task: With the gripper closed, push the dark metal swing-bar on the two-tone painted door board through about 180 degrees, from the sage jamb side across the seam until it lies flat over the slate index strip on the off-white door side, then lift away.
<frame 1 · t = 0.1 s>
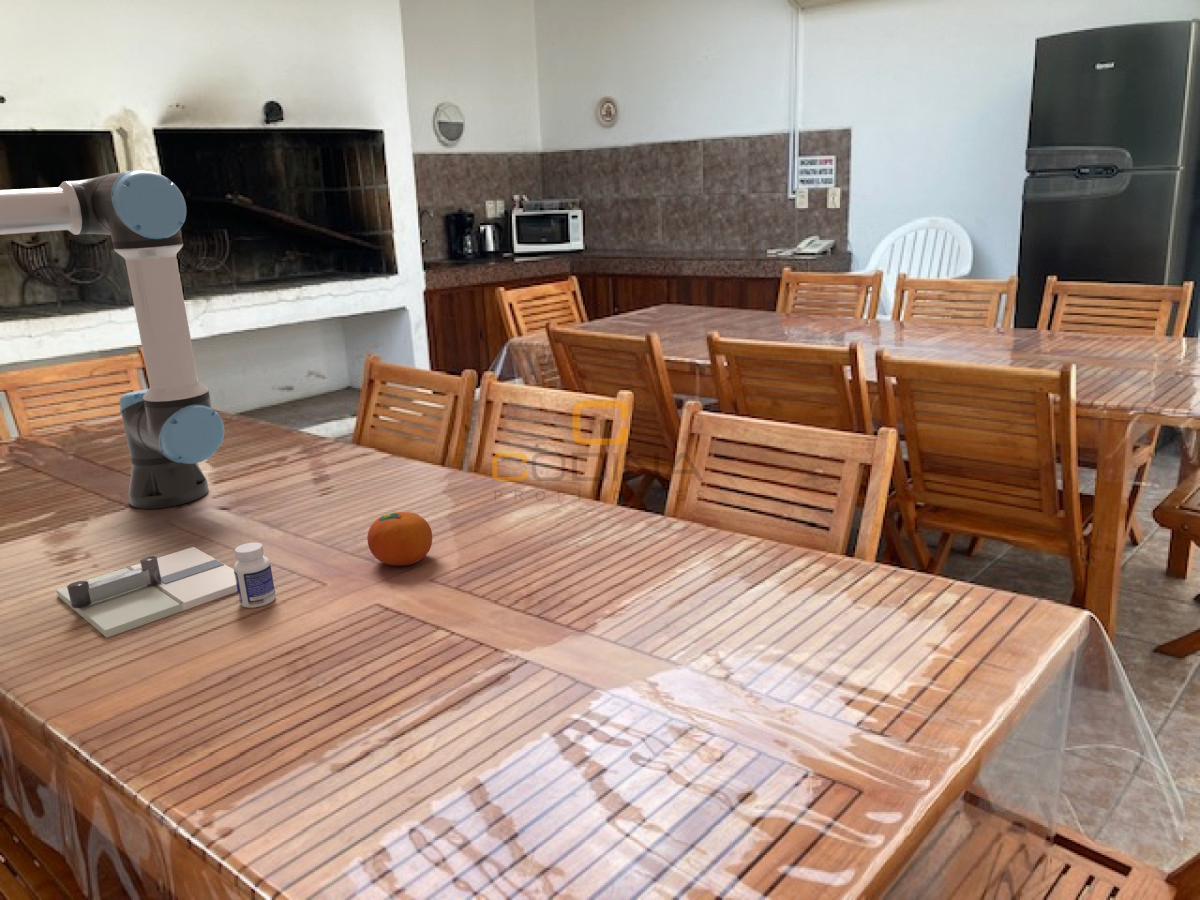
door board: (155, 591, 149), on the table
fruit: (402, 562, 156), on the table
swing bar: (115, 582, 145), point 3 cm above the table, hinge at 0.0°
pill bottle: (258, 602, 144), on the table
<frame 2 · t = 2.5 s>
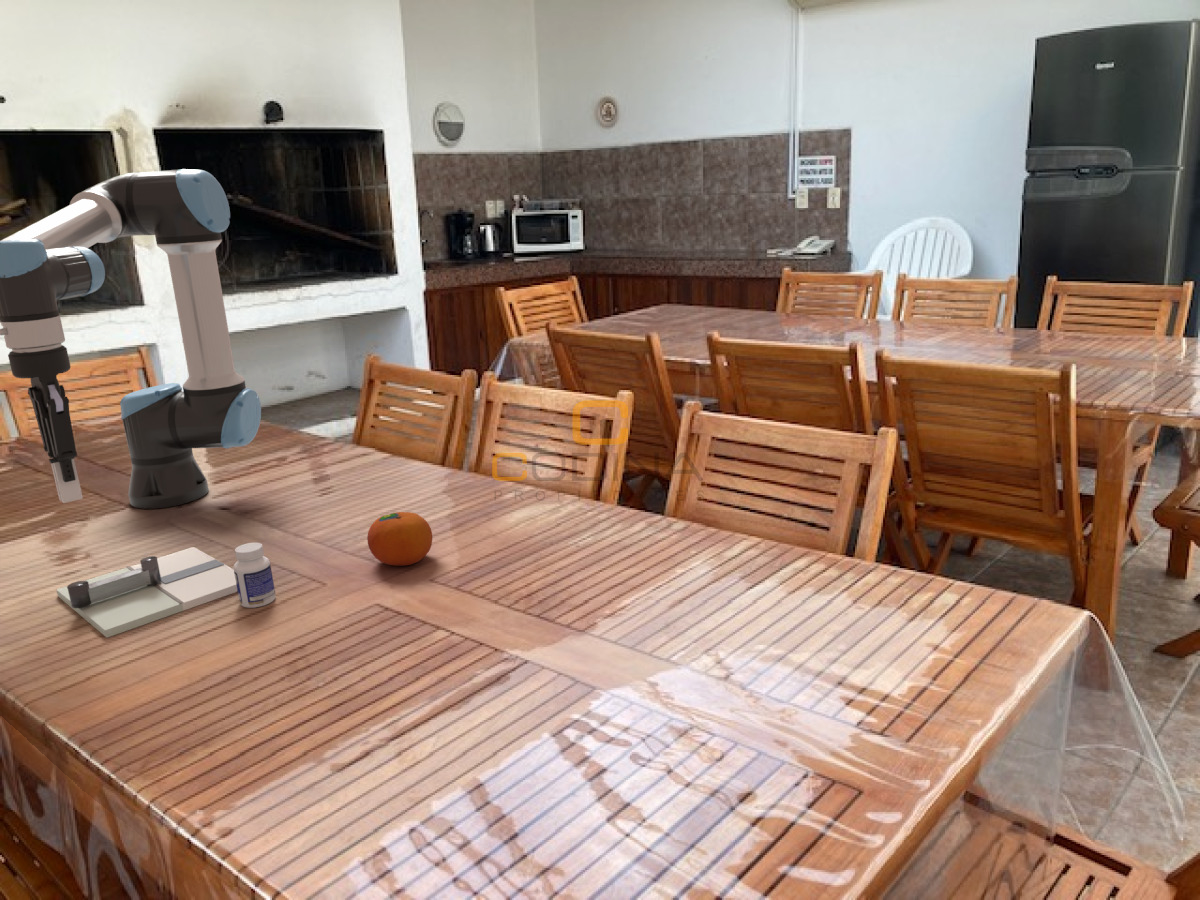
hand: (71, 499, 144), 16 cm above the table, fingers closed
nothing on the table moved.
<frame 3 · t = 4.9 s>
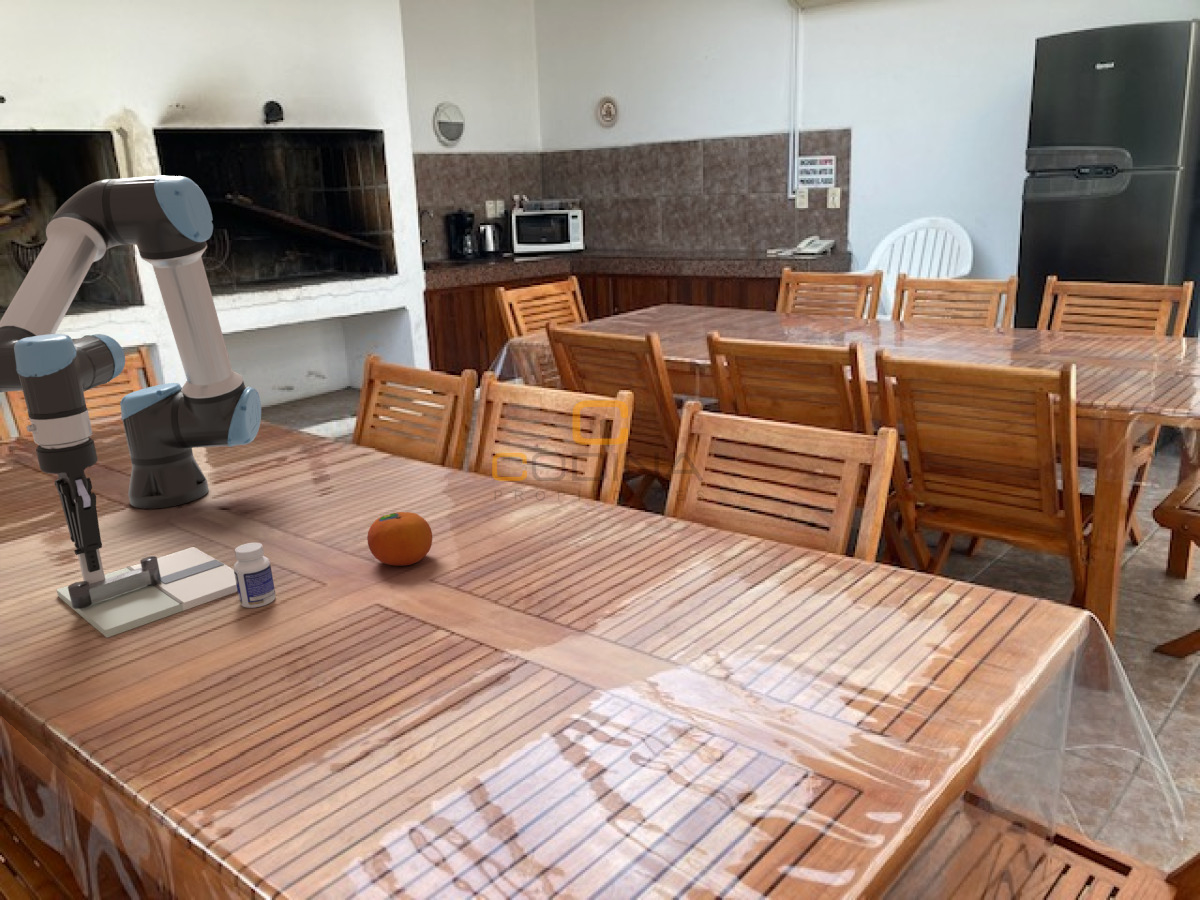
hand: (96, 588, 144), 3 cm above the table, fingers closed
swing bar: (115, 582, 145), point 3 cm above the table, hinge at 1.7°, touching gripper
everything else where it was.
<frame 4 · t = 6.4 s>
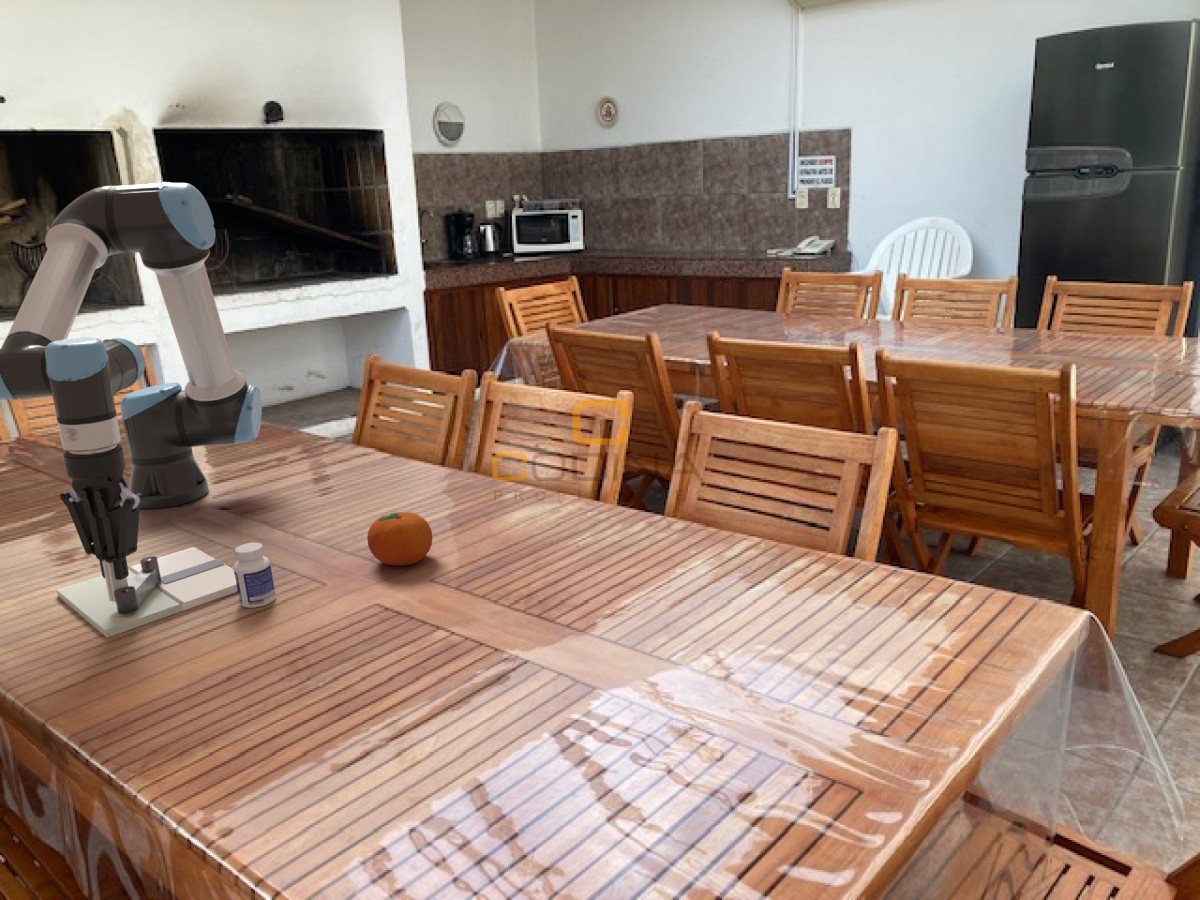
hand: (119, 597, 141), 3 cm above the table, fingers closed
swing bar: (138, 585, 143), point 3 cm above the table, hinge at 50.8°, touching gripper
everything else where it was.
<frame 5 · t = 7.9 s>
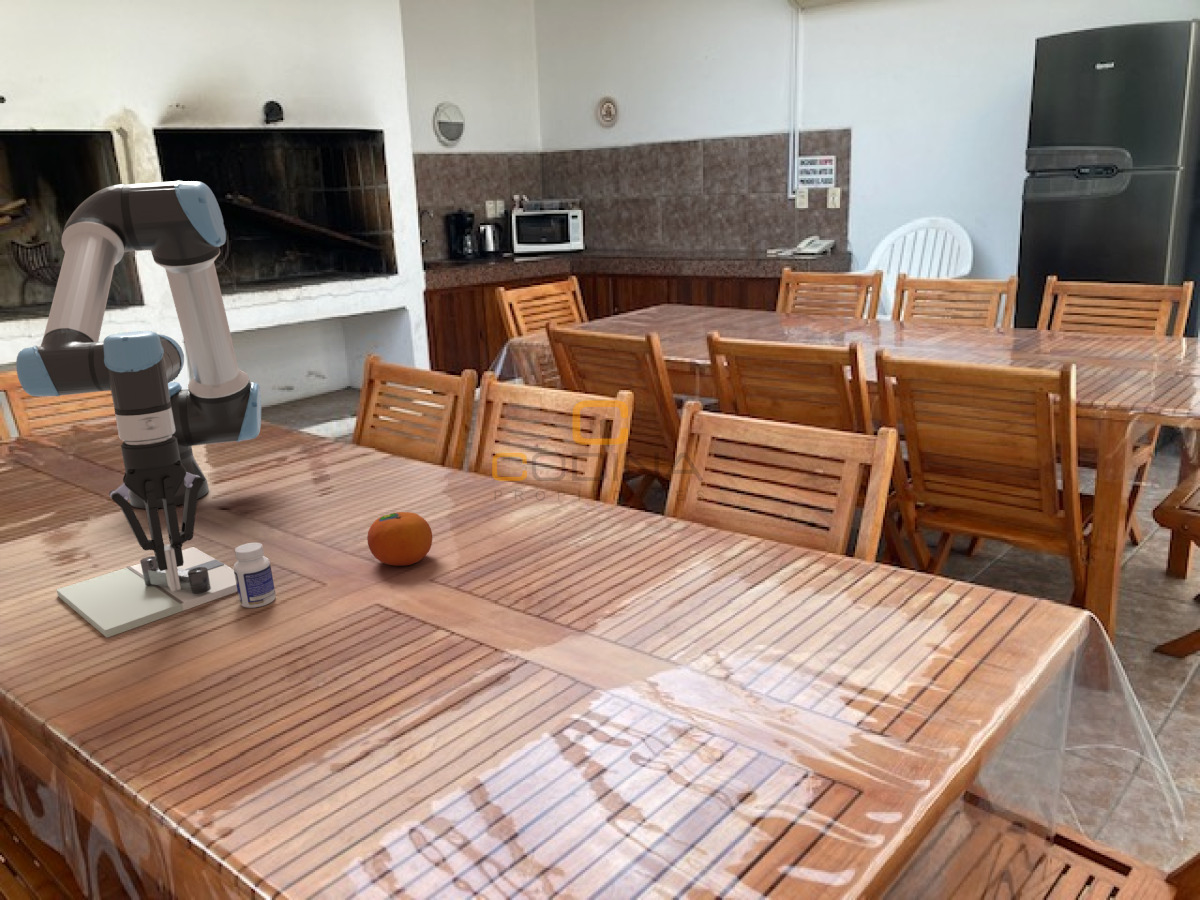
hand: (174, 587, 143), 3 cm above the table, fingers closed
swing bar: (175, 575, 146), point 3 cm above the table, hinge at 109.7°, touching gripper
everything else where it was.
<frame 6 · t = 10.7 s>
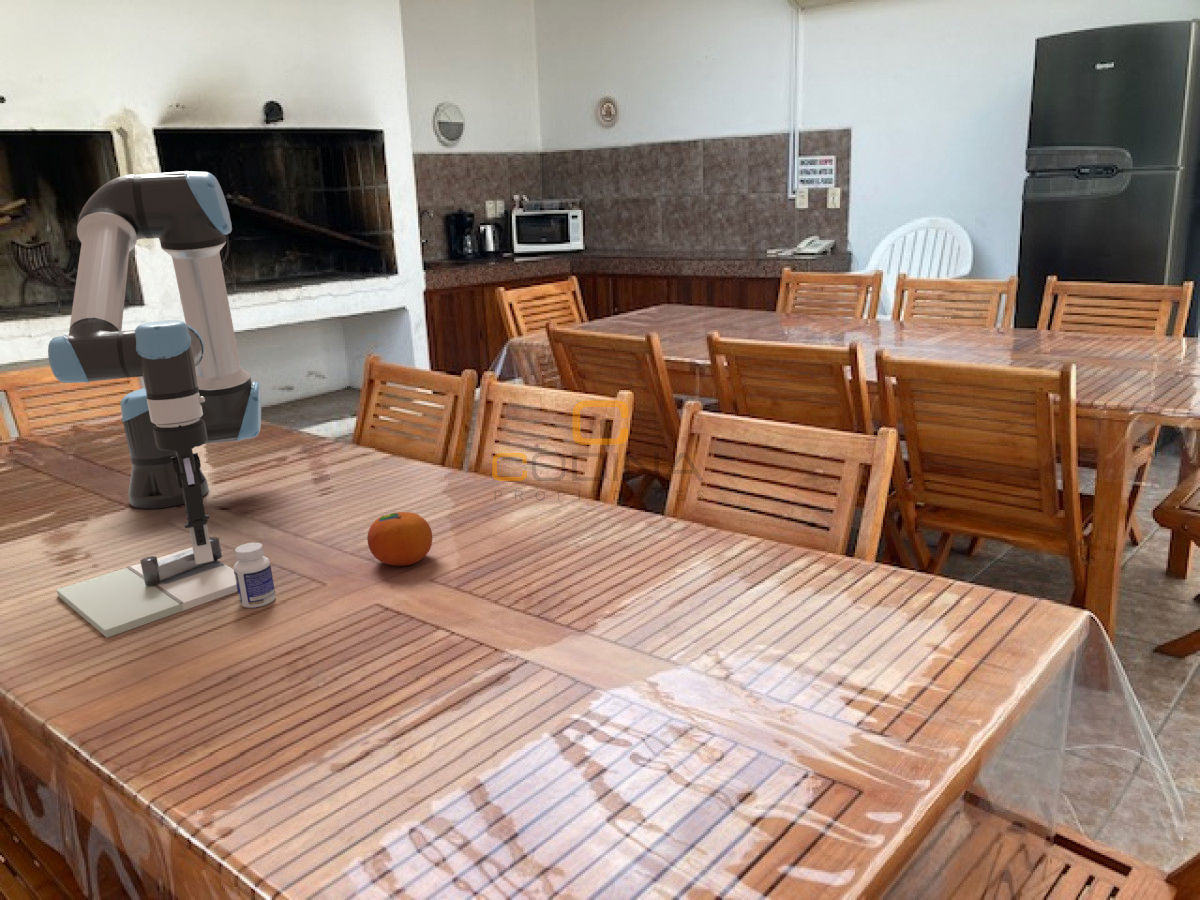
hand: (204, 561, 153), 3 cm above the table, fingers closed
swing bar: (182, 559, 152), point 3 cm above the table, hinge at 187.9°
everything else where it was.
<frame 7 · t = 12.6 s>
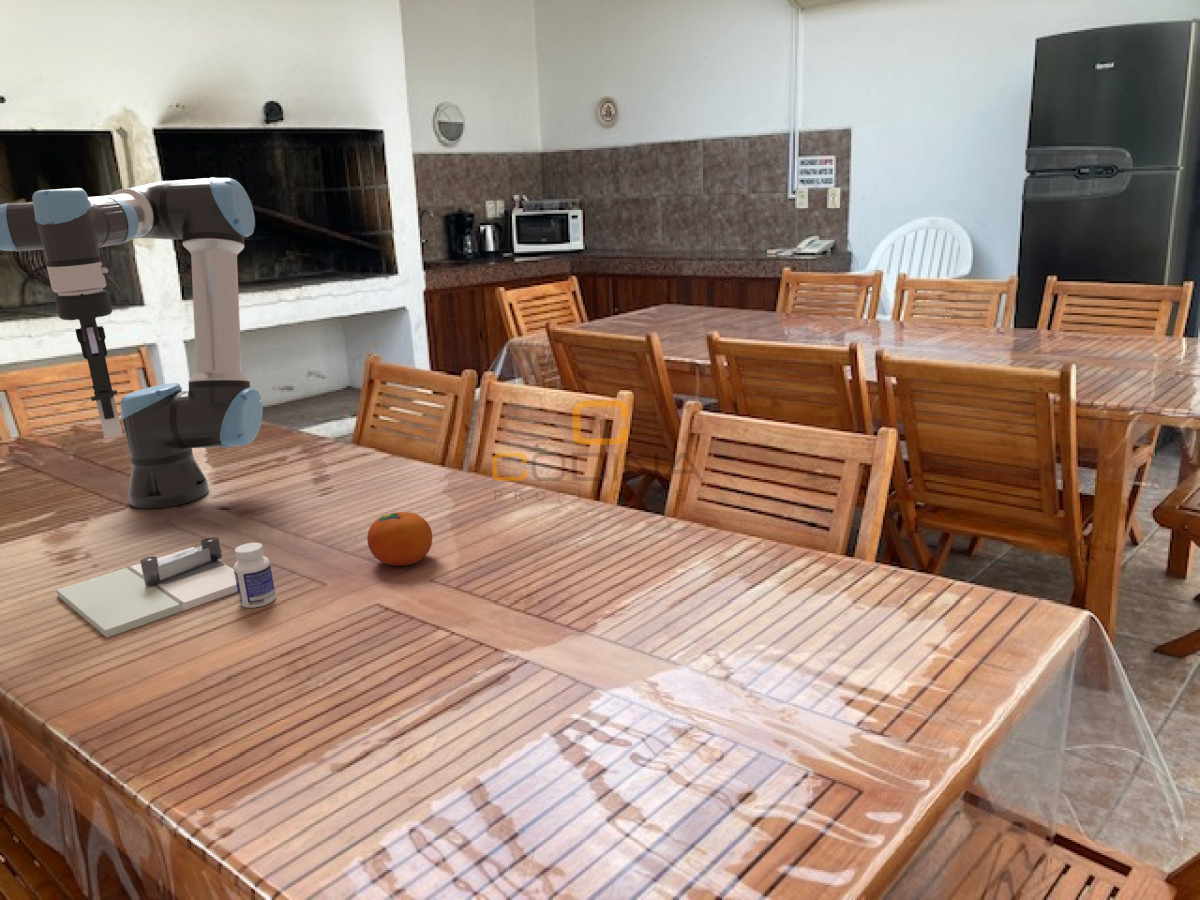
hand: (113, 436, 153), 23 cm above the table, fingers closed
nothing on the table moved.
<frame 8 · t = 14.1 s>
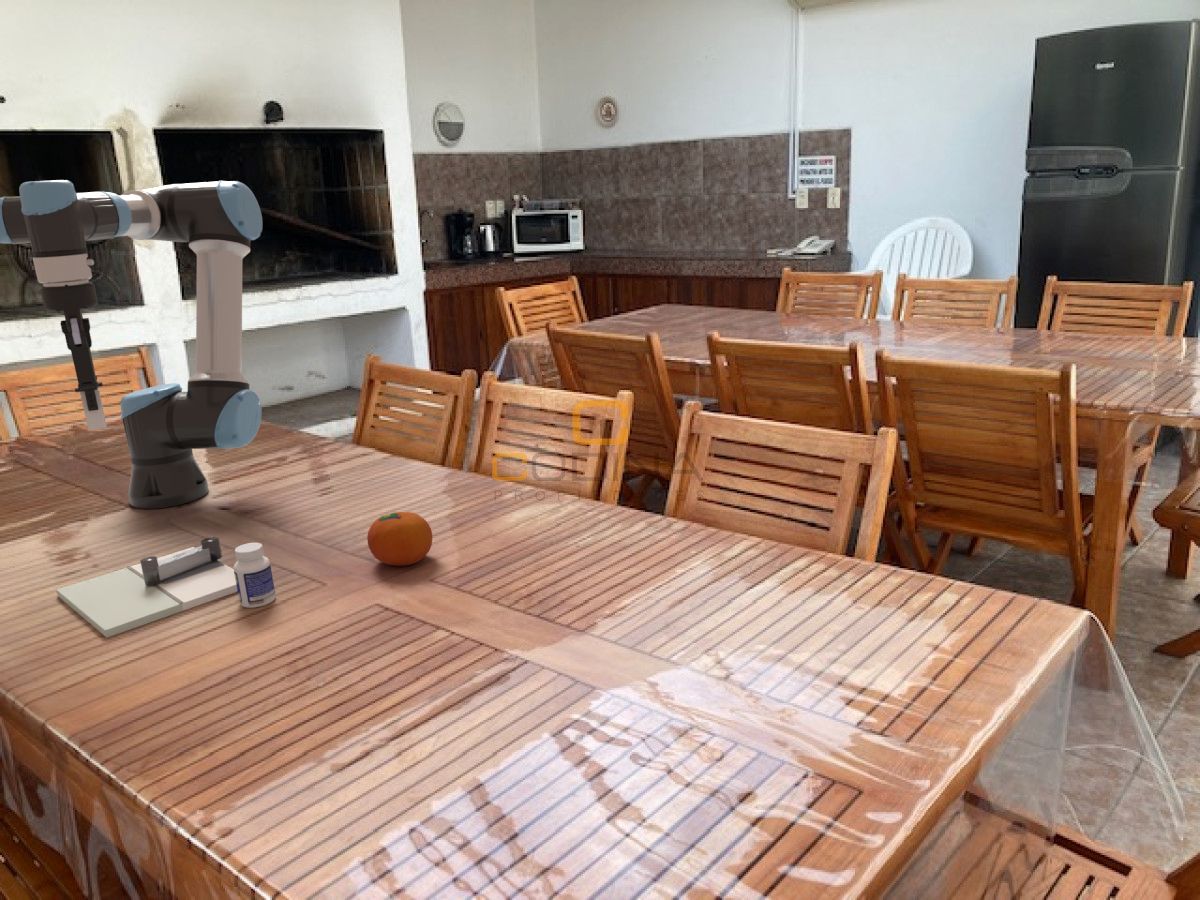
hand: (97, 428, 153), 24 cm above the table, fingers closed
nothing on the table moved.
at the end: swing bar at +188° (first picture: +0°) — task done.
